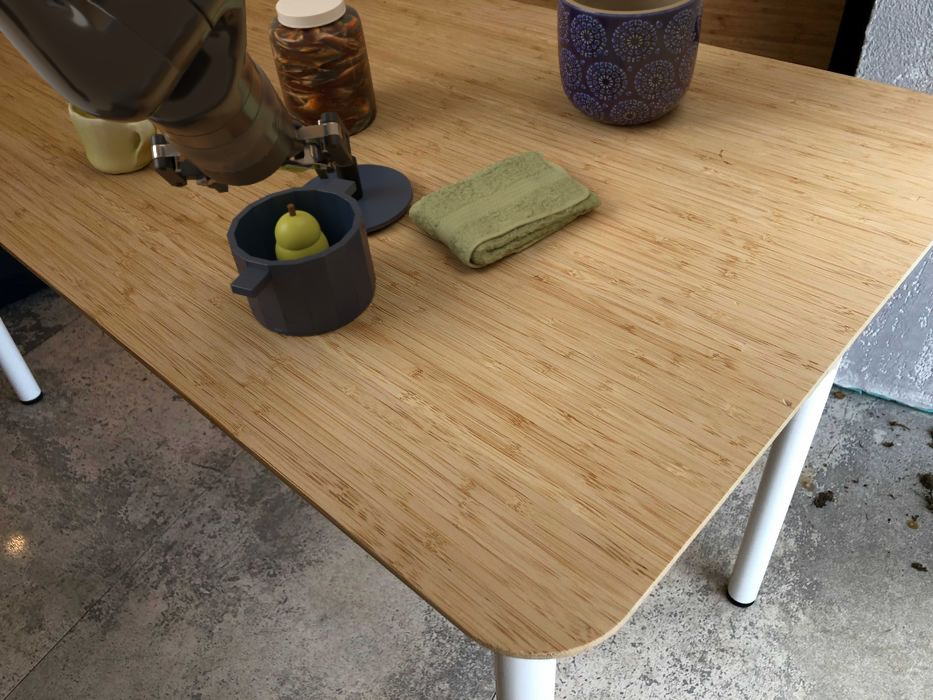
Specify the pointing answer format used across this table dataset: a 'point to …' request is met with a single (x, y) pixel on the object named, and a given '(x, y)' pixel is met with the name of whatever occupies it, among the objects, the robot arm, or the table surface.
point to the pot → (304, 262)
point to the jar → (322, 62)
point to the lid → (374, 191)
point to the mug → (114, 142)
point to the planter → (627, 56)
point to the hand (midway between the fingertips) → (273, 174)
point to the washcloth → (503, 208)
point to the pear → (298, 235)
